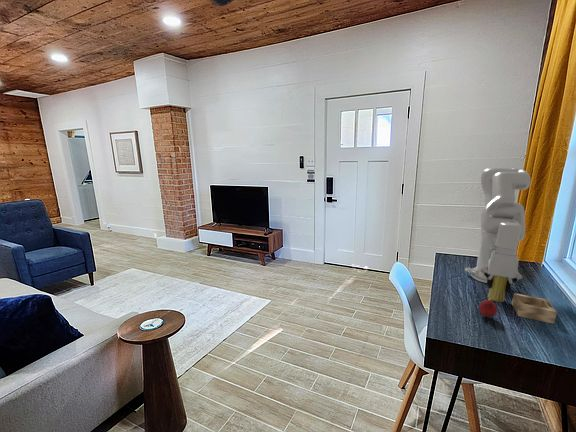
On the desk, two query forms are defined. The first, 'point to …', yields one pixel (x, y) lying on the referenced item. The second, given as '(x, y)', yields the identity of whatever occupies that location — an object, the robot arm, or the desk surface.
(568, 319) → the desk surface
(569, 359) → the desk surface
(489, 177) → the robot arm
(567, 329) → the desk surface
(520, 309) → the wooden box
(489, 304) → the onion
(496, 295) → the vase
